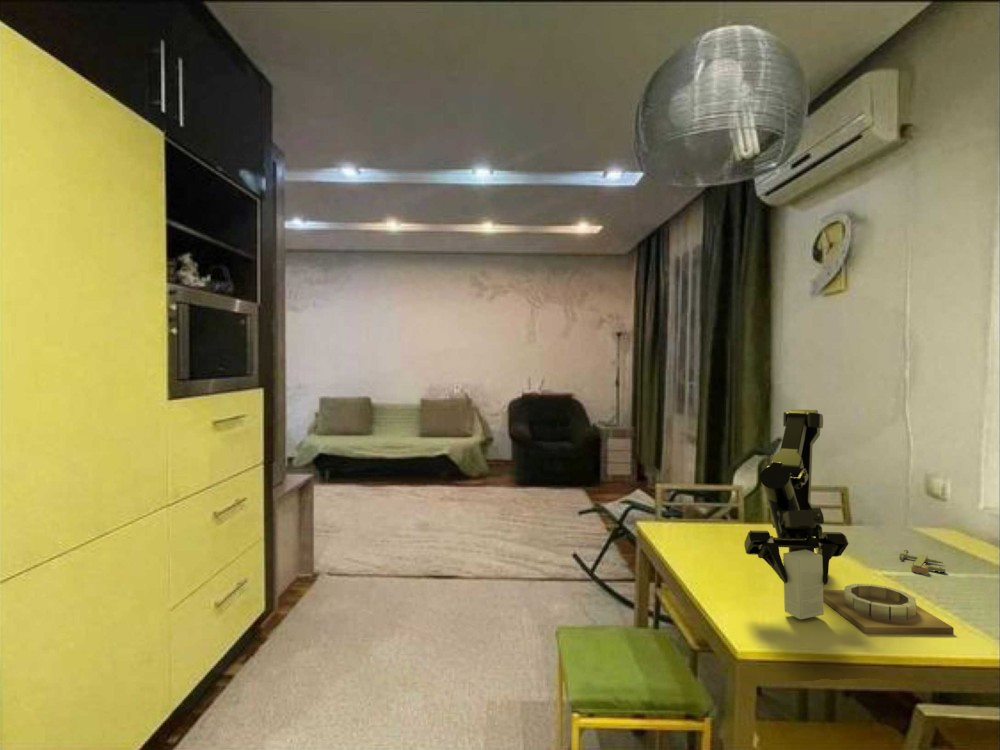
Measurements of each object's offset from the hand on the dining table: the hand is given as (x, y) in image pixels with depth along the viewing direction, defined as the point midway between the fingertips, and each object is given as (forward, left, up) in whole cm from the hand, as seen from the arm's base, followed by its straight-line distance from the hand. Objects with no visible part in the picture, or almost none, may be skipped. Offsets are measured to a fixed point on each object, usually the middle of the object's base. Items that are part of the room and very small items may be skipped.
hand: (805, 583), depth 113 cm
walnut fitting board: (-3, +16, -7) cm, 18 cm away
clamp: (-32, +44, -8) cm, 54 cm away
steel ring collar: (-3, +16, -6) cm, 18 cm away
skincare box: (-1, 0, -7) cm, 7 cm away
